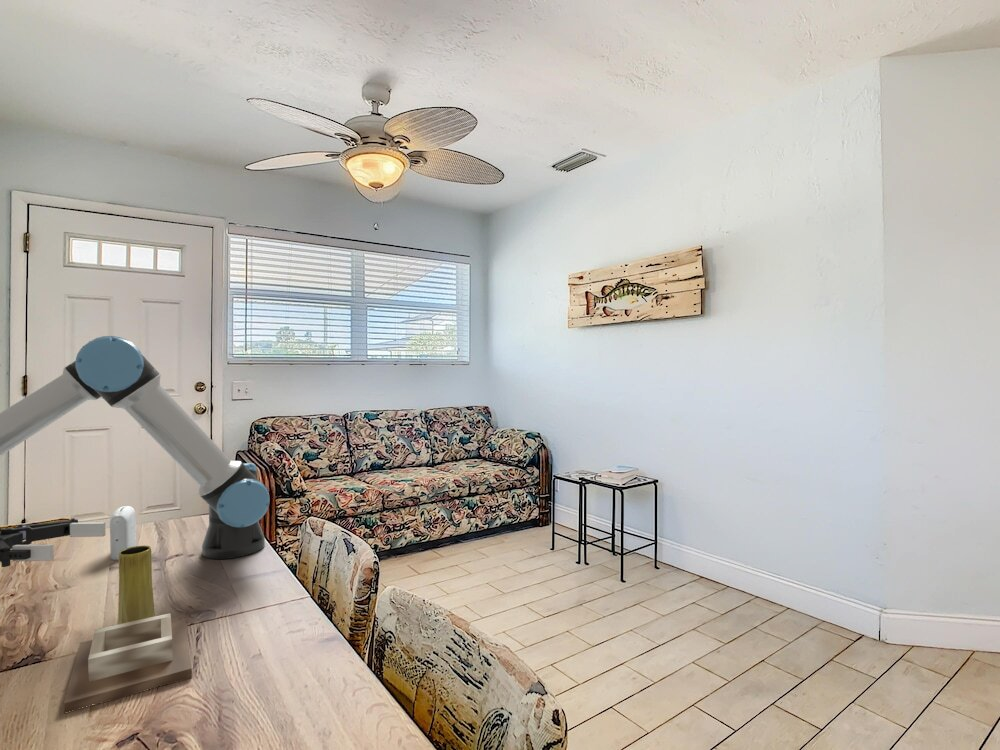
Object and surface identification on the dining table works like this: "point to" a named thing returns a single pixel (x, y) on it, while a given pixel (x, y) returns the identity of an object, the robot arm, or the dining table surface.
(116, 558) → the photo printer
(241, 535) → the robot arm
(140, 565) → the vase
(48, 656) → the dining table surface
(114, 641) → the stand
